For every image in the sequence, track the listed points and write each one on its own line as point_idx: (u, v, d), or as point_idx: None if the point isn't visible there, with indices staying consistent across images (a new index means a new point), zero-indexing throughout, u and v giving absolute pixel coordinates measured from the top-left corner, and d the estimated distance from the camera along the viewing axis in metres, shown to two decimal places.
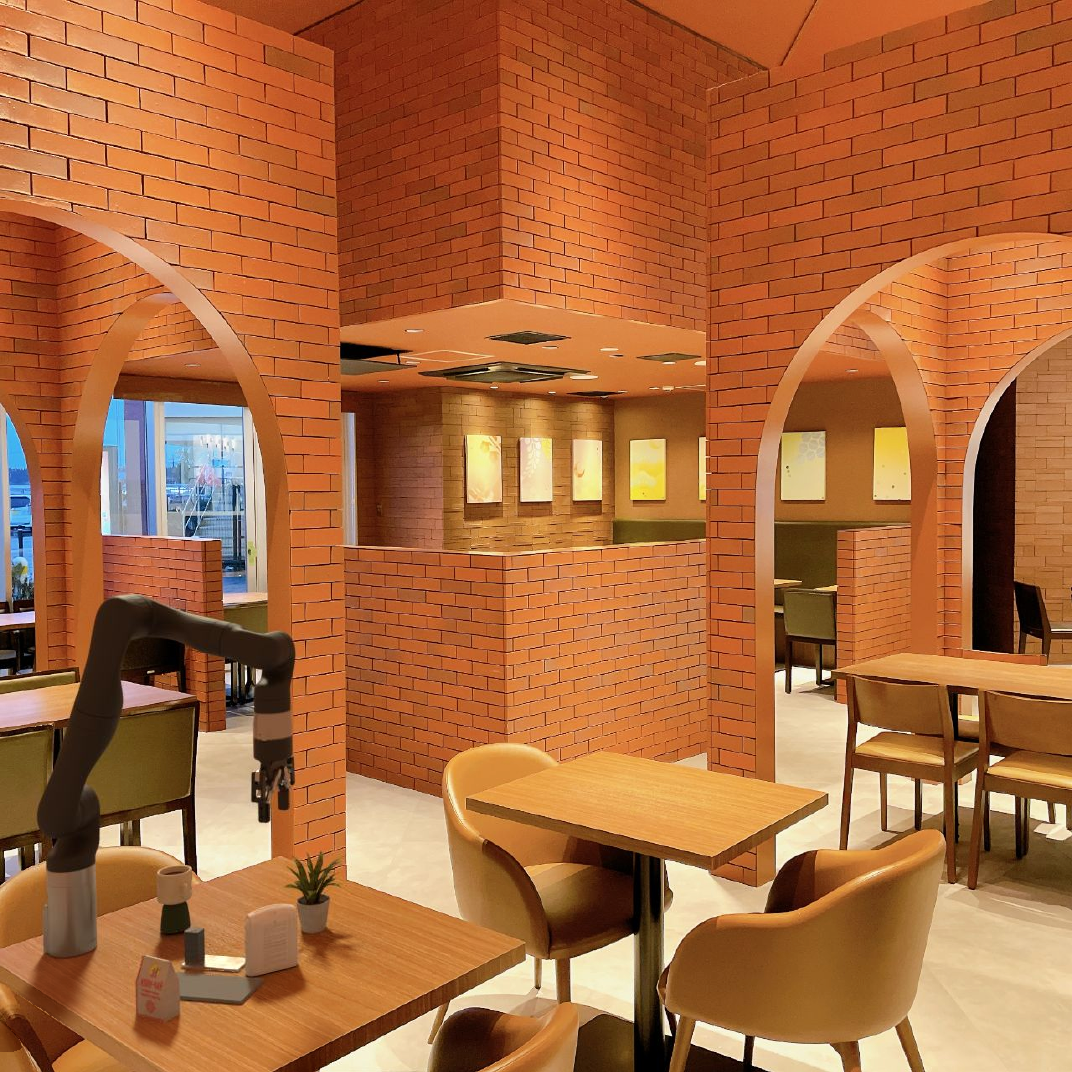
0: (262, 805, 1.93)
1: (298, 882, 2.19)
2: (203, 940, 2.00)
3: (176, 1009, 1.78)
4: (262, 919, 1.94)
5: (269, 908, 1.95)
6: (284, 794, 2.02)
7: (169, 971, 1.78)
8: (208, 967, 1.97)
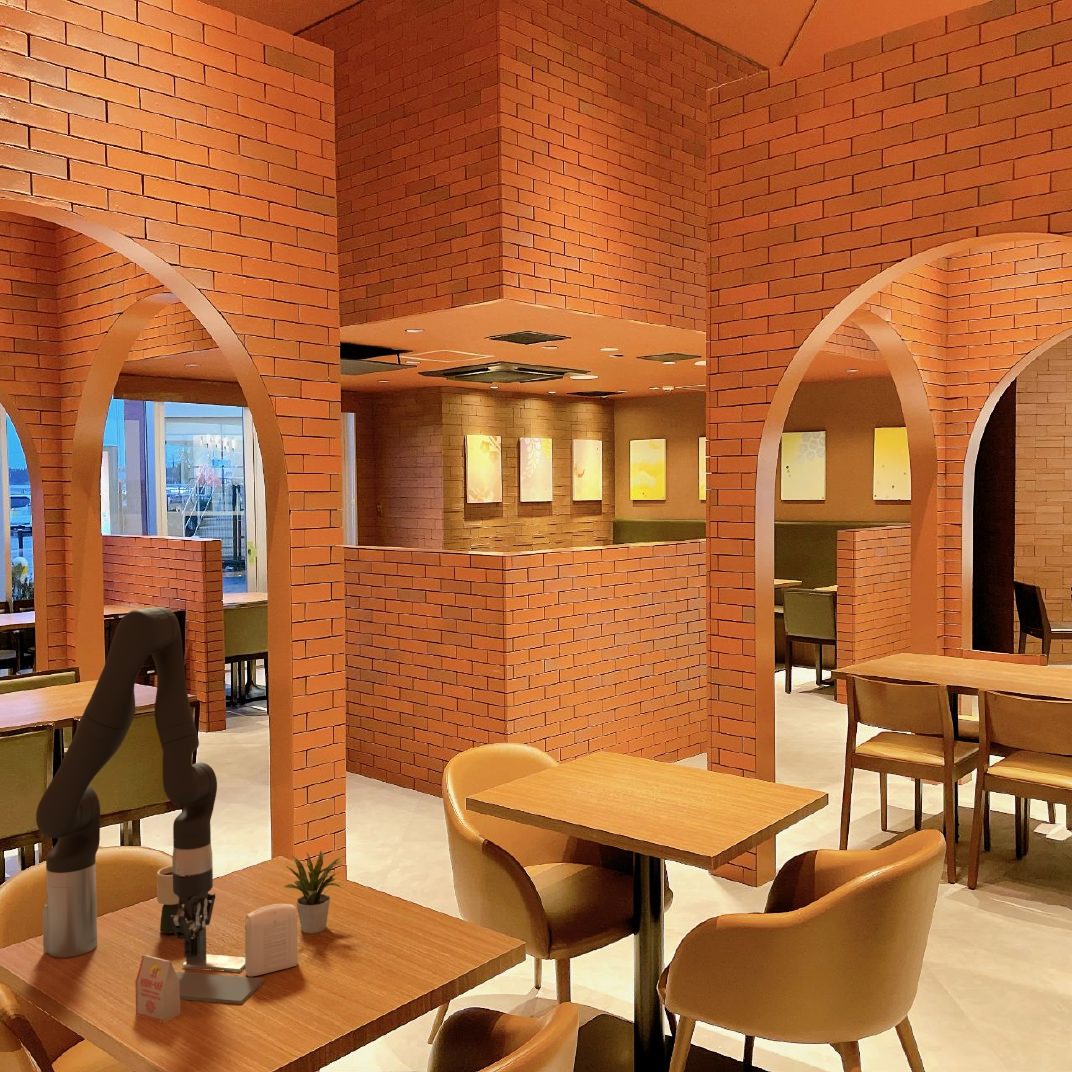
0: (188, 941, 1.97)
1: (298, 882, 2.19)
2: (205, 939, 2.00)
3: (176, 1009, 1.78)
4: (262, 919, 1.94)
5: (269, 908, 1.95)
6: None
7: (169, 971, 1.78)
8: (210, 966, 1.97)
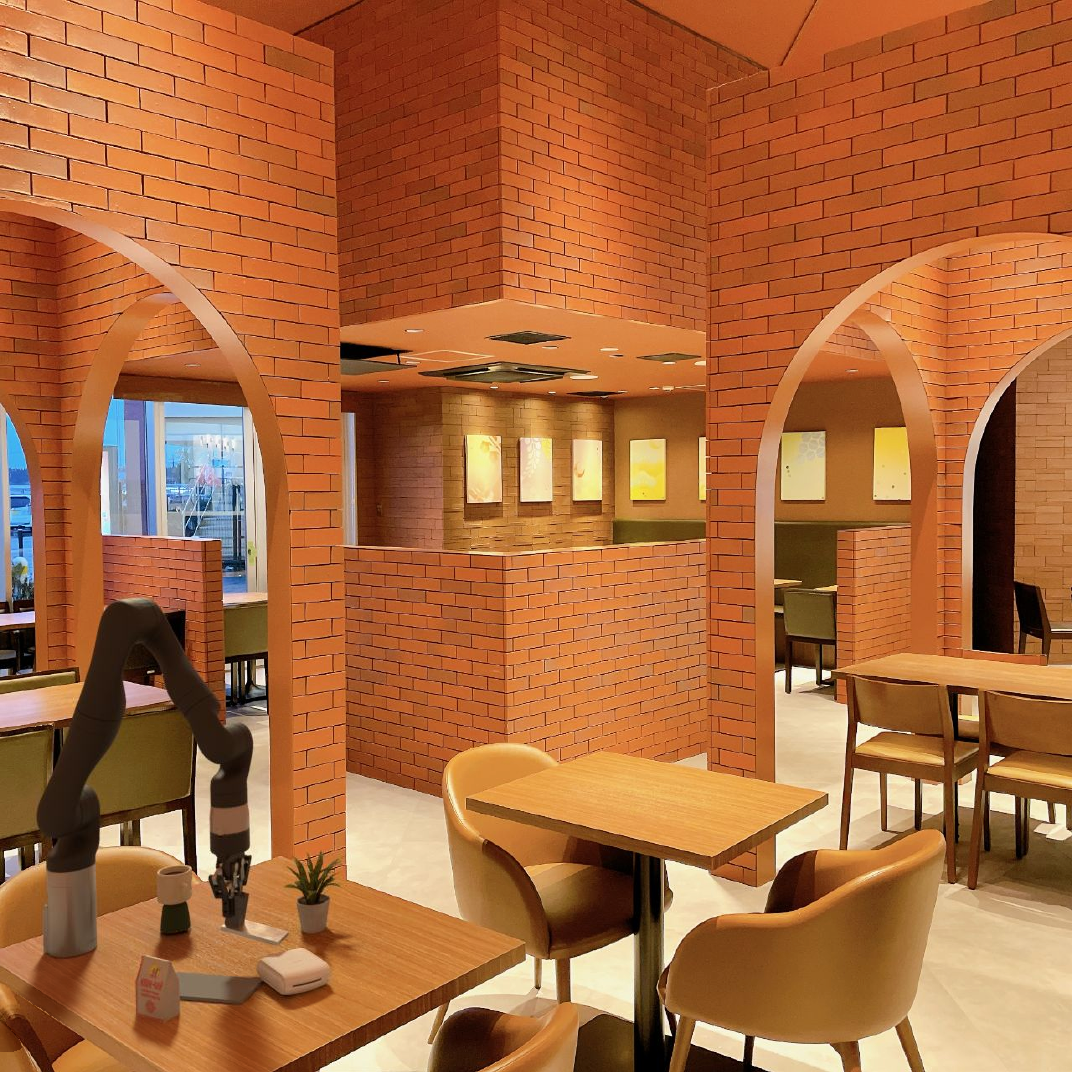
0: (226, 900, 1.96)
1: (298, 882, 2.19)
2: (246, 905, 1.98)
3: (176, 1009, 1.78)
4: (294, 993, 1.85)
5: (307, 988, 1.85)
6: None
7: (169, 971, 1.78)
8: (248, 934, 1.95)
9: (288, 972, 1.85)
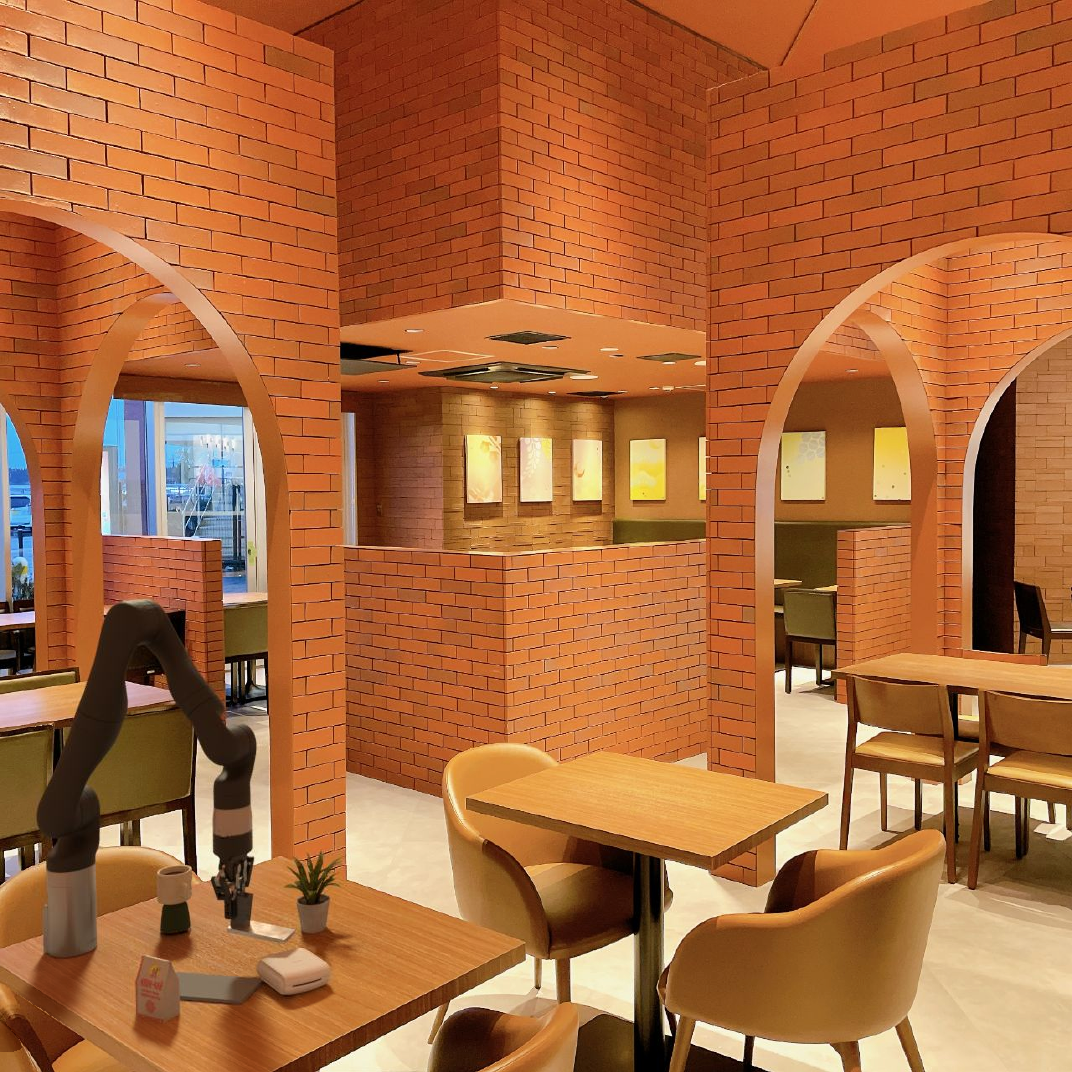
0: (228, 902, 1.96)
1: (298, 882, 2.19)
2: (251, 906, 1.98)
3: (176, 1009, 1.78)
4: (294, 993, 1.85)
5: (307, 988, 1.85)
6: None
7: (169, 971, 1.78)
8: (254, 934, 1.95)
9: (288, 972, 1.85)
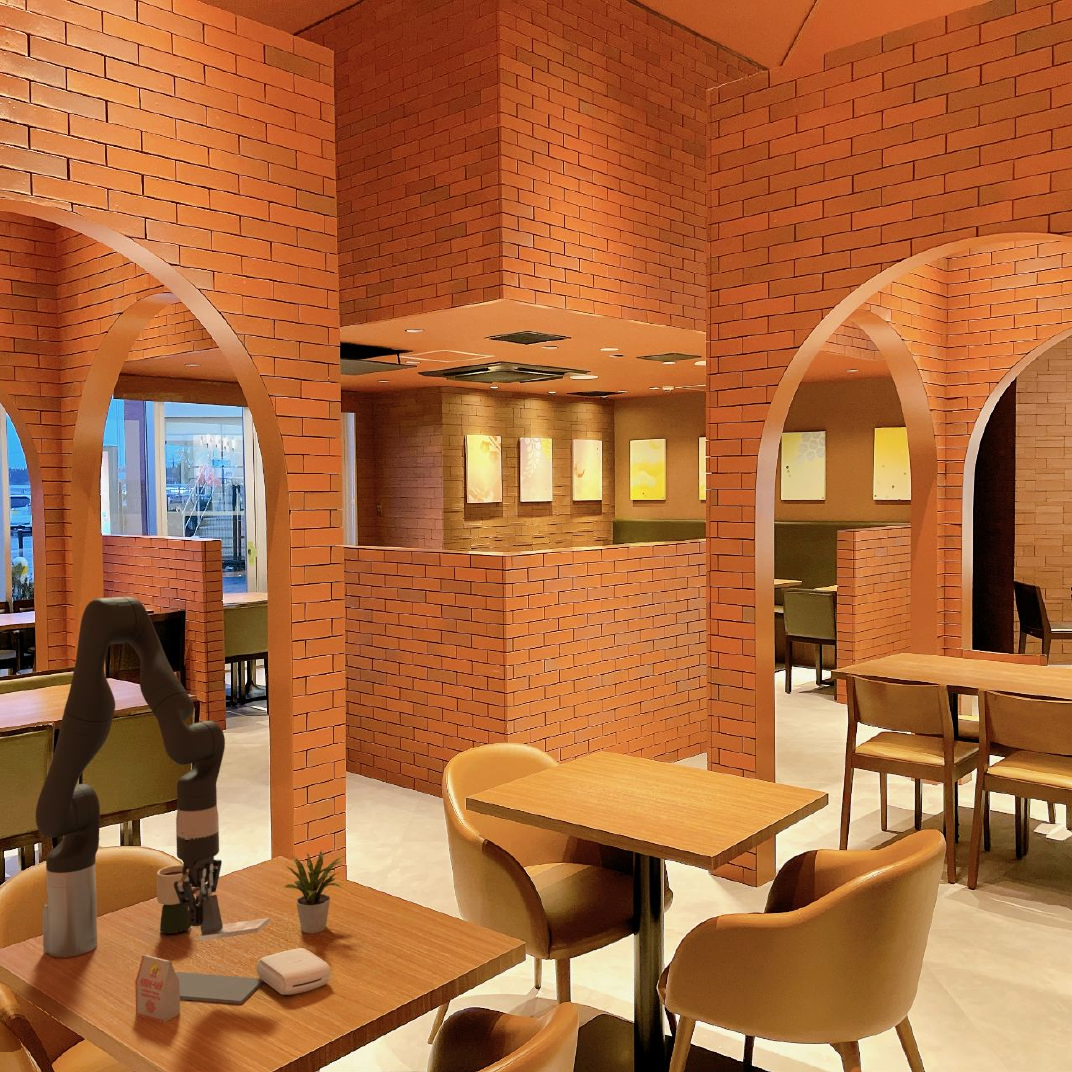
0: (193, 908, 1.86)
1: (298, 882, 2.19)
2: (217, 908, 1.89)
3: (176, 1009, 1.78)
4: (294, 993, 1.85)
5: (307, 988, 1.85)
6: None
7: (169, 971, 1.78)
8: (226, 932, 1.85)
9: (288, 972, 1.85)
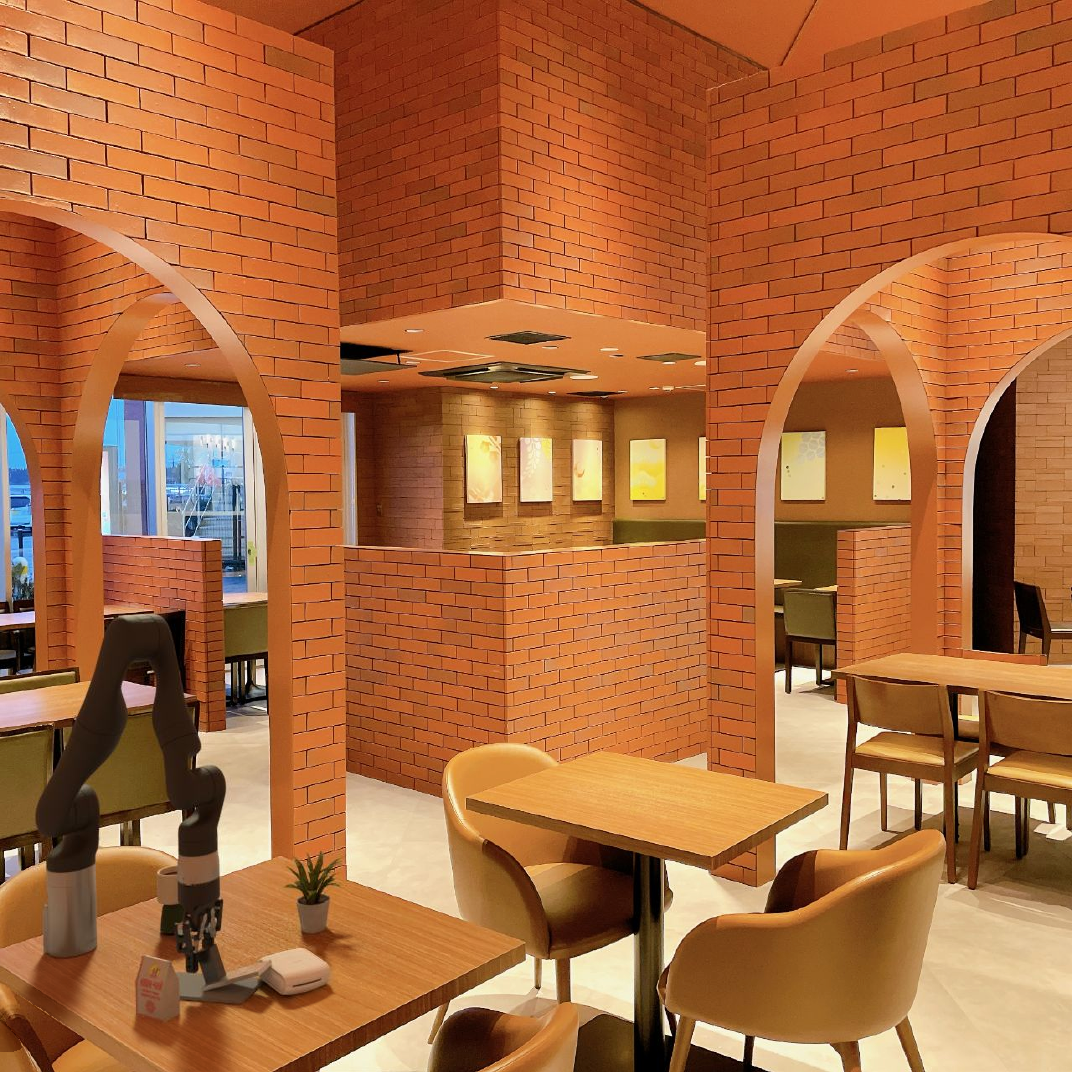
0: (189, 955, 1.85)
1: (298, 882, 2.19)
2: (219, 956, 1.89)
3: (176, 1009, 1.78)
4: (294, 993, 1.85)
5: (307, 988, 1.85)
6: (208, 942, 1.91)
7: (169, 971, 1.78)
8: (229, 980, 1.85)
9: (288, 972, 1.85)
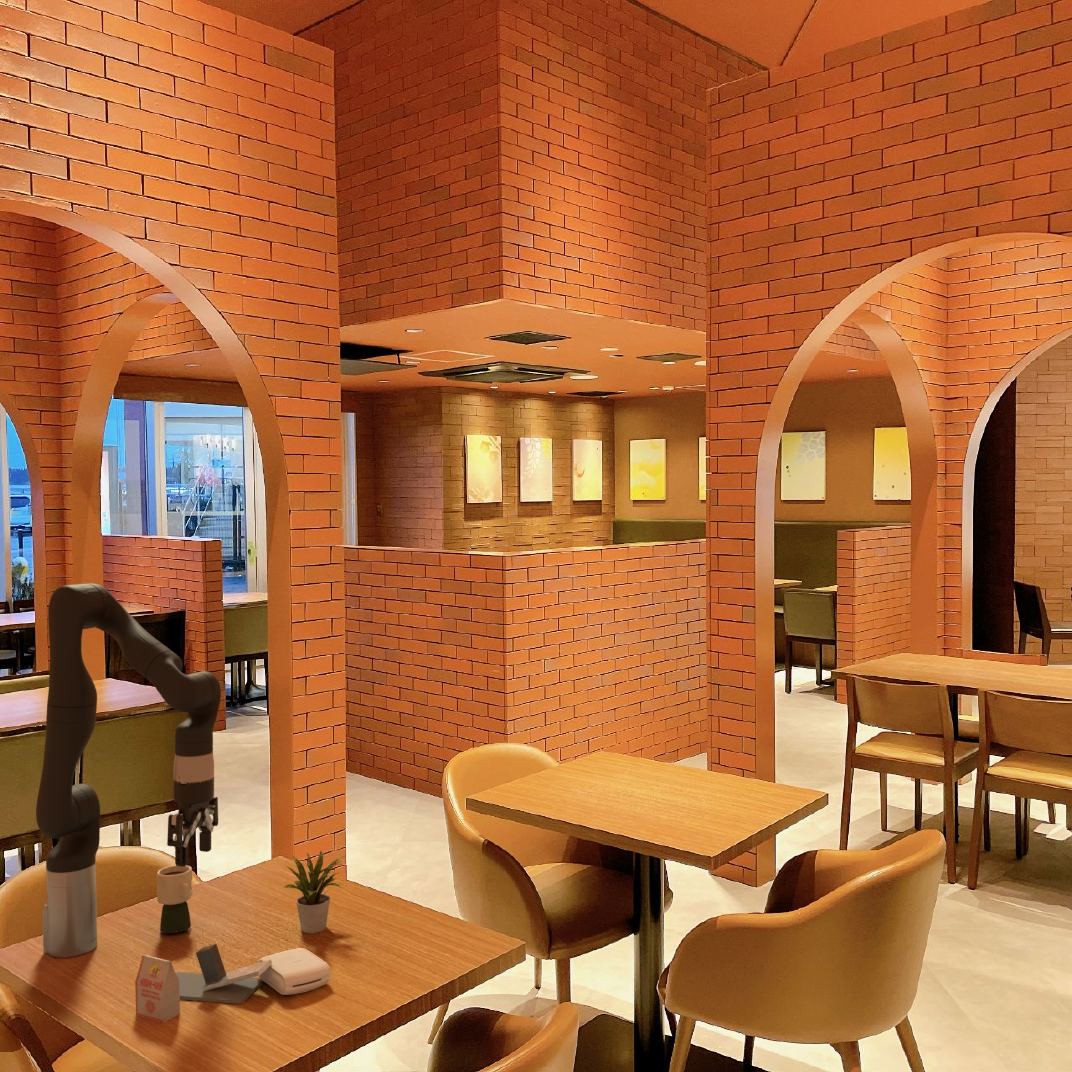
0: (179, 849, 1.92)
1: (298, 882, 2.19)
2: (219, 956, 1.89)
3: (176, 1009, 1.78)
4: (294, 993, 1.85)
5: (307, 988, 1.85)
6: (206, 835, 2.01)
7: (169, 971, 1.78)
8: (229, 980, 1.85)
9: (288, 972, 1.85)
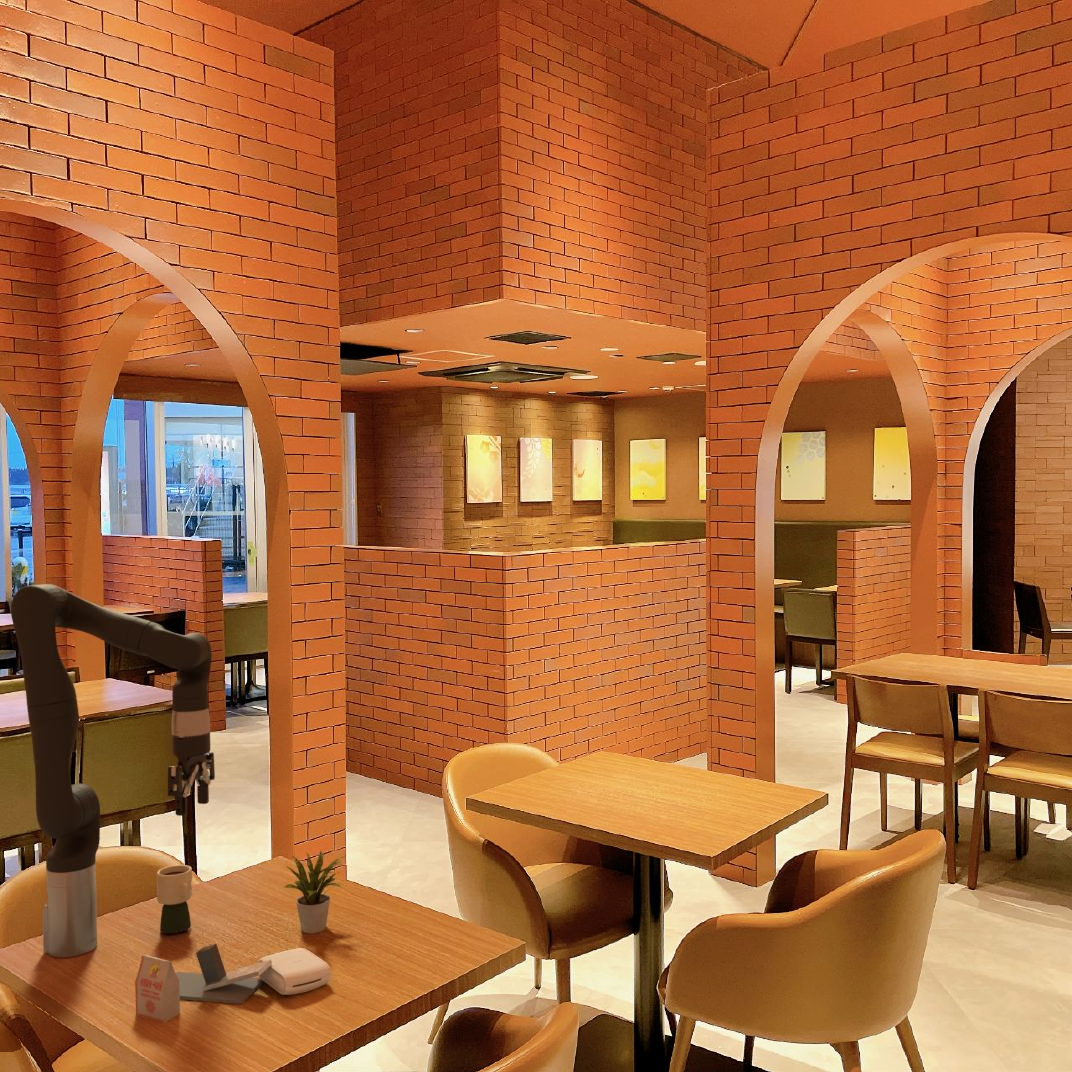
0: (179, 799, 2.03)
1: (298, 882, 2.19)
2: (219, 956, 1.89)
3: (176, 1009, 1.78)
4: (294, 993, 1.85)
5: (307, 988, 1.85)
6: (203, 788, 2.12)
7: (169, 971, 1.78)
8: (229, 980, 1.85)
9: (288, 972, 1.85)
